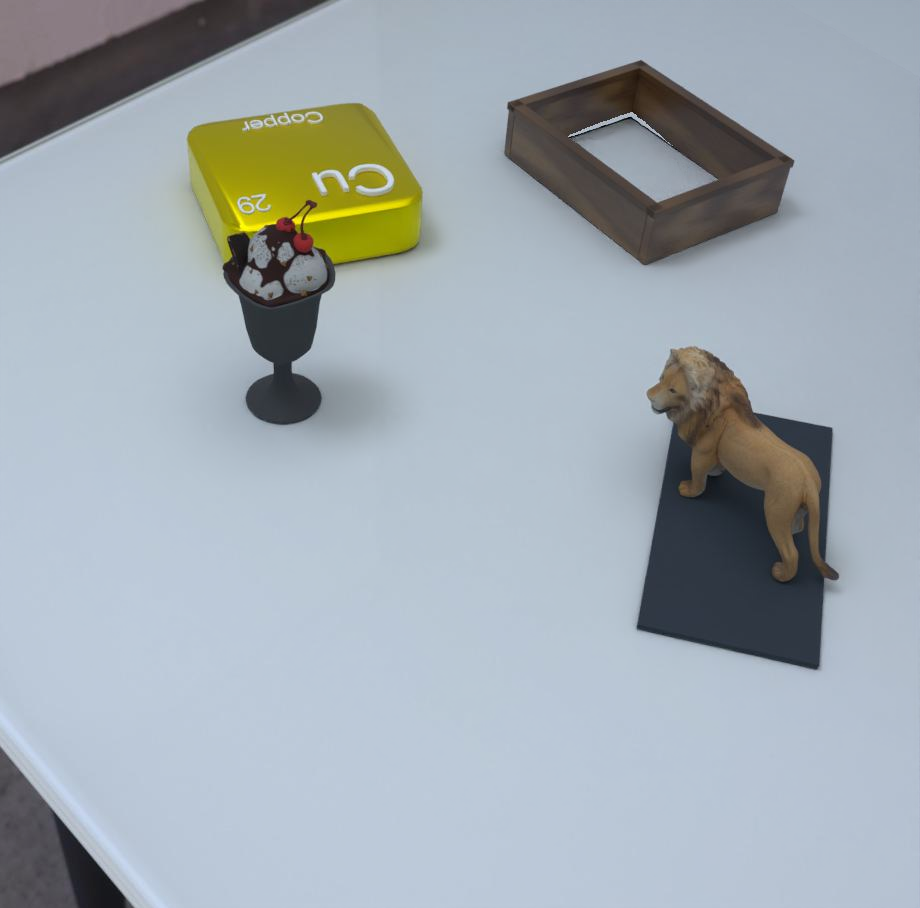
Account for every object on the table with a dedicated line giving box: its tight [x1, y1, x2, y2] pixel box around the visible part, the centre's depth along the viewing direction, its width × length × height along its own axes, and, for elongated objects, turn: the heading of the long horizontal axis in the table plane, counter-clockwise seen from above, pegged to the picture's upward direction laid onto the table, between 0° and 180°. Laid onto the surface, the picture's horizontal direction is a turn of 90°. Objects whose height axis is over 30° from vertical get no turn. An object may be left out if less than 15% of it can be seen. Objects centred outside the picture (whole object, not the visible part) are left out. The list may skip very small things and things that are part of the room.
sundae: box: [221, 200, 336, 425], centre depth 80 cm, size 7×7×15 cm
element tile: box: [186, 102, 423, 265], centre depth 99 cm, size 15×15×5 cm
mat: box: [636, 411, 834, 670], centre depth 79 cm, size 20×10×1 cm, turn 165°
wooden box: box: [503, 59, 795, 266], centre depth 103 cm, size 14×18×5 cm
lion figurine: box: [646, 345, 840, 582], centre depth 76 cm, size 15×5×9 cm, turn 41°
